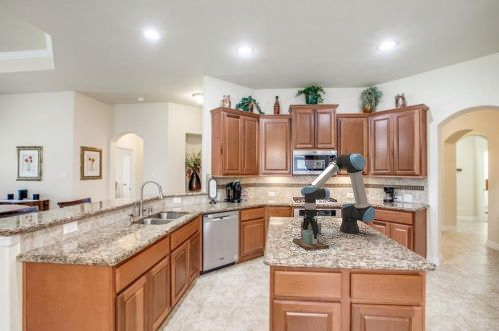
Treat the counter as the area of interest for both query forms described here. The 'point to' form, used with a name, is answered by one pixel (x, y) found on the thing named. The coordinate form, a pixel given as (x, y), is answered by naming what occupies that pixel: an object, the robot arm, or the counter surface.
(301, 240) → the board
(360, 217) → the robot arm
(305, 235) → the cube
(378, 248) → the counter surface
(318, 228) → the stack of blocks
